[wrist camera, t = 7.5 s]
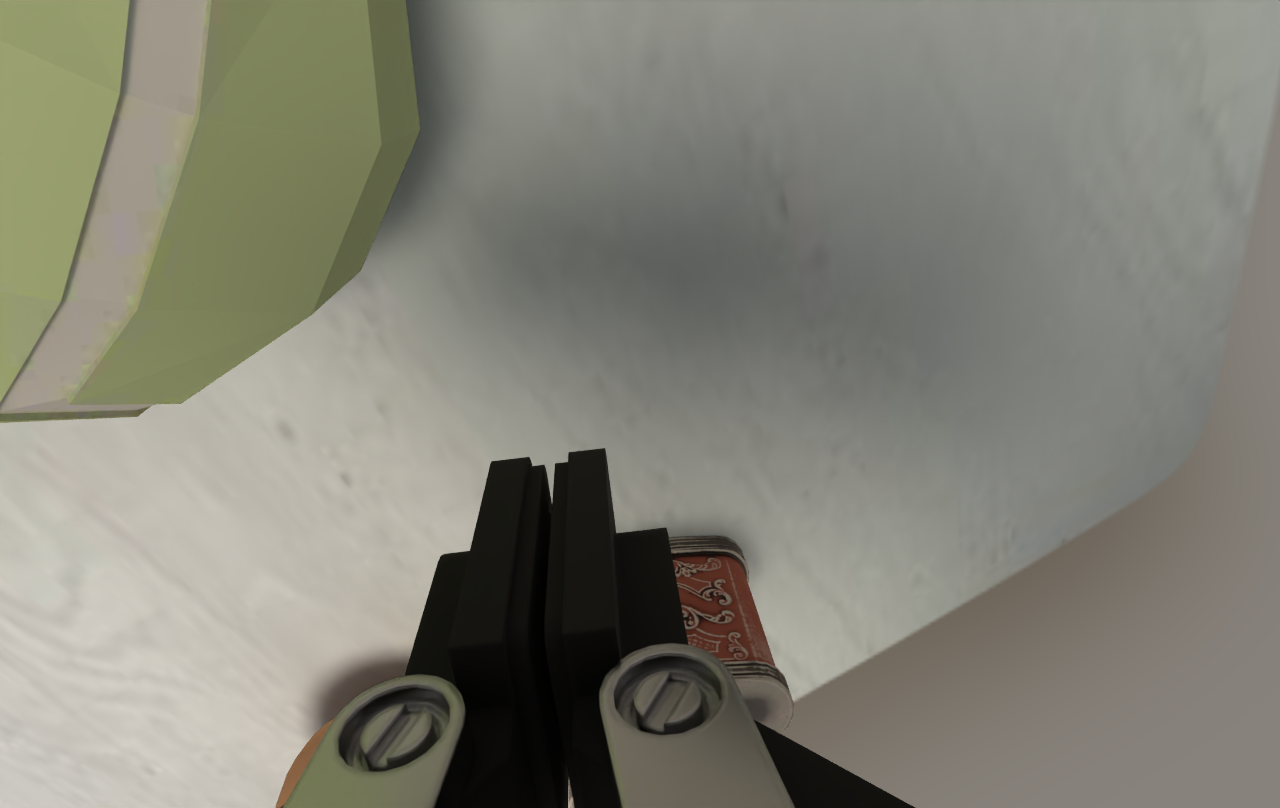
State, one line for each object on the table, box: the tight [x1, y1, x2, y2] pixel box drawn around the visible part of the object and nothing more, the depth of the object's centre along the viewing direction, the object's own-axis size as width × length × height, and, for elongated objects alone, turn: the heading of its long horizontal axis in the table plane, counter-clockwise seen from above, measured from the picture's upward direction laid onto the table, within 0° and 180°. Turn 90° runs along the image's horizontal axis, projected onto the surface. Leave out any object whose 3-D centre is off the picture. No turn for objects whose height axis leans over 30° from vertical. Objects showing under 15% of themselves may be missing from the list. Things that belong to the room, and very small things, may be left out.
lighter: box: [569, 536, 794, 808], centre depth 25 cm, size 8×3×10 cm, turn 100°
